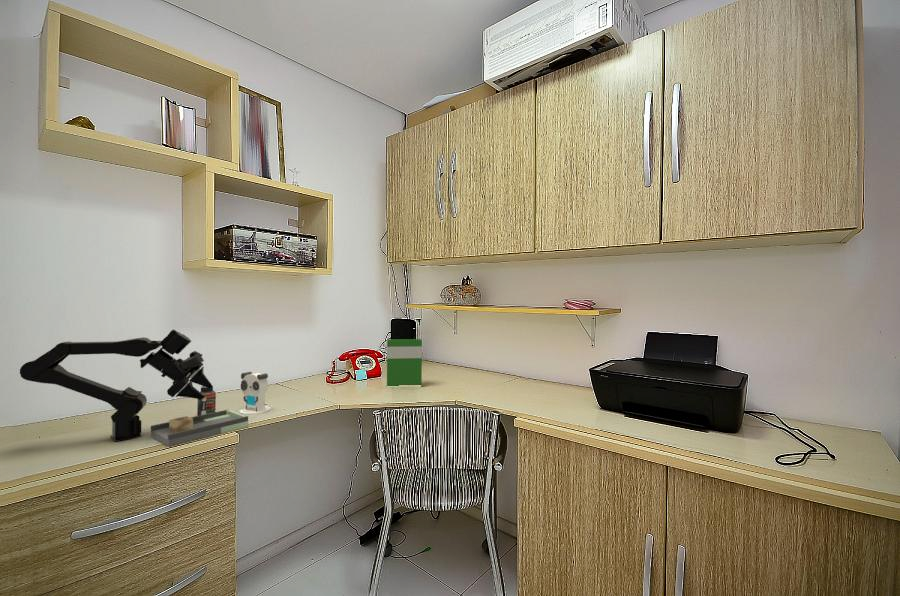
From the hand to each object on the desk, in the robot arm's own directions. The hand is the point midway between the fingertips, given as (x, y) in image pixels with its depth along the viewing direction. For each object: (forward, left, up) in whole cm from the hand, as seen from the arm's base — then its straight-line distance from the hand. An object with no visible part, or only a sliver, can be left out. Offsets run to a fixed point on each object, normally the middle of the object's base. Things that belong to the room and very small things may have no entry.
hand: (207, 392), depth 138 cm
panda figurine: (+21, +8, -12) cm, 26 cm away
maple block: (-9, -3, -10) cm, 14 cm away
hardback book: (+91, -9, -12) cm, 92 cm away
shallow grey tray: (-3, -3, -12) cm, 13 cm away
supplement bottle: (+6, +15, -12) cm, 21 cm away
